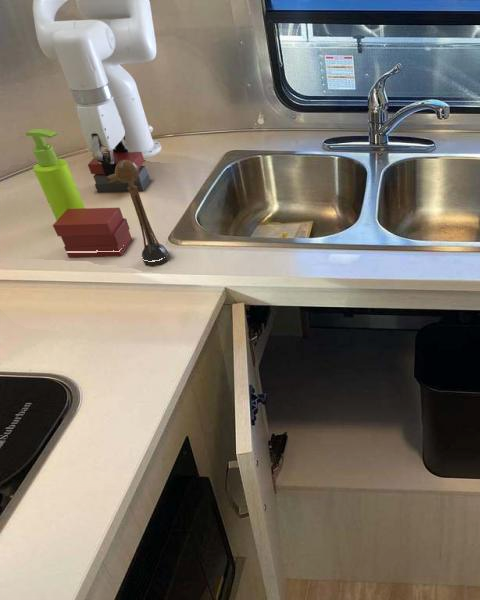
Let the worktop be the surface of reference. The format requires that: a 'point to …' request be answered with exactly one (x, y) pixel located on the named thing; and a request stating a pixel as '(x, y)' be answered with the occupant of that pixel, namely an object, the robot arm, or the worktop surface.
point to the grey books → (119, 186)
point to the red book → (117, 160)
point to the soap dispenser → (54, 175)
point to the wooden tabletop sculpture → (140, 214)
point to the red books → (93, 231)
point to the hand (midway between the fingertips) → (119, 171)
